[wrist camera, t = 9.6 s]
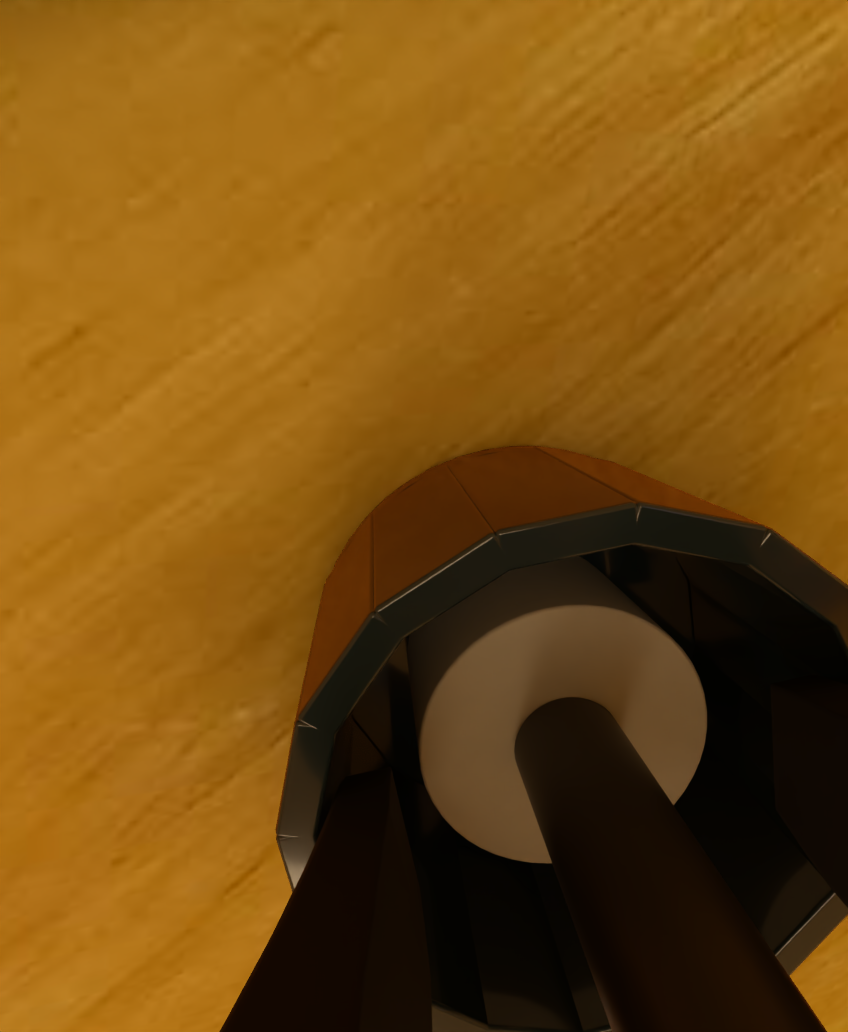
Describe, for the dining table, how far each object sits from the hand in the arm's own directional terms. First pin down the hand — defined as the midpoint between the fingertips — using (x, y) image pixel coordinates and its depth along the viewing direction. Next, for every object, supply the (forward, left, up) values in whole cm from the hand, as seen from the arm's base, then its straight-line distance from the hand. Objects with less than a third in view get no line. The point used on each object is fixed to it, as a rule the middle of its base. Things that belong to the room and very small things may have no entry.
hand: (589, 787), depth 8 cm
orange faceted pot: (0, 0, -4) cm, 4 cm away
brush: (0, 0, -4) cm, 4 cm away
